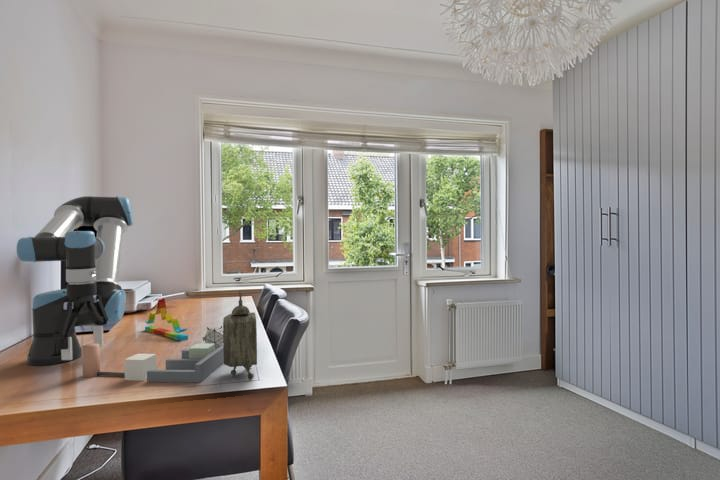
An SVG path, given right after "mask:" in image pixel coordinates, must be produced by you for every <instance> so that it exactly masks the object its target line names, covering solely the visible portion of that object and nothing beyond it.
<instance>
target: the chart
mask: <svg viewBox="0 0 720 480" xmlns="http://www.w3.org/2000/svg"><path fill="white" fill-rule="evenodd" d="M155 310H156V311H151V312H150V313H149V315H148V320H145V321H144V323H146V324H147V326H144V331H146V332H149V333H153V334H156V335H158V336H159V335H160V336H162V337H163V336H164V337H166V338H169V339H172V340H177V341H180V342H182V341H187V340H189V335H188V334H184V332H186V331H187V330H188V327H187V328H181V326H180V323H179V320H178V318H174V317H173V316H172V313H167V312H168V311H167V305H166V298H161V299H158V301H157V305H156V309H155ZM156 315H160V317H161V321H165V320H166V322H167V324H170V323H171V325H172V329H173V330H170V329H166V328H162V327H158V326H155V325H148V324H154V323H155V319H156Z"/></svg>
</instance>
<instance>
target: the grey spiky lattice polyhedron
mask: <svg viewBox="0 0 720 480" xmlns="http://www.w3.org/2000/svg"><path fill="white" fill-rule="evenodd" d="M206 329H207V331H206V333H205V335H204V336H203V337H202V341H203V342H205V343H215V349H218V348H219V347H220V346H222V345H223V325H222V326H220V327H212V328H209V327H208V326H206Z"/></svg>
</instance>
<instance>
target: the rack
mask: <svg viewBox="0 0 720 480" xmlns="http://www.w3.org/2000/svg"><path fill="white" fill-rule="evenodd" d="M221 365H224V351H223V345H222V346H220V347H219V348H215V351H213V352H212V353H211V354H209V355H208V356H206V357H205V358H204V359H189V349H182V350H181V358H167V359H166V360H165V369H157V370H148V371H147V379H146V382H147V383H201V382H203V381H204V380H205V379H206V378H208V377H209V376H210V375H211V374H212V373H214V371H216V370H217V369H218V368H220V367H221Z"/></svg>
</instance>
